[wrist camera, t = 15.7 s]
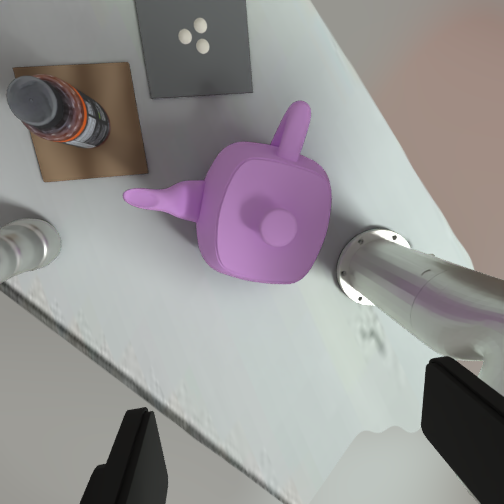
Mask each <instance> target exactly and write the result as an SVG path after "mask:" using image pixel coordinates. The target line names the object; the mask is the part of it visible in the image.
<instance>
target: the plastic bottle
mask: <svg viewBox="0 0 504 504" xmlns="http://www.w3.org/2000/svg"><path fill="white" fill-rule="evenodd" d="M60 250H61V238H60V235H59V233H58V232H57V230H56V229H55V228H54V227H53V226H52V225H51V224H49V223H48V222H46V221H43V220H40V219H28V218H25V219H19V220H16V221H13V222H11V223H8V224H7V225H5V226H3V227H2V228H0V284H1V283H2V282H4V281H6V280H8V279H9V278H11V277H13V276H16V275H19V274H21V273H24V272H28V271H33V270H37V269H40V268H43V267H45V266H47V265H49V264H50V263H51V262H52V261H53V260H54V259H55V258H56V257H57V256H58V255H59V253H60Z"/></svg>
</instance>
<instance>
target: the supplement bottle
mask: <svg viewBox="0 0 504 504" xmlns="http://www.w3.org/2000/svg"><path fill="white" fill-rule="evenodd" d="M7 101H8V105H9V107H10V109H11V111H12V112H13V113H14V115H15V116H16V117H17V118H19V119H20V120H21V121H22V123H23V124H24V125H25V126H26V127H27V128H28V129H29V130H30V131H31V132H32V133H34V134H35V135H37V136H39V137H41V138H43V139H46V140H50V141H53V142H58V143H63V144H67V145H72V146H76V147H78V148H79V147H81V148H96V147H99V146H101V145H102V144H103V143H104V142H105V141H106V140H107V139H108V137H109V135H110V130H111V126H110V120H109V117H108V115H107V113H106V111H105V110H104V108H103V107H102V106H101V105H100V104H99V103H97V102H96V101H95V100H93V99H92V98H90V97H89V96H87V95H85V94H84V93H82V92H81V91H79V90H78V89H76V88H75V87H73V86H71V85H70V84H68V83H67V82H65V81H63V80H61V79H59V78H57V77H54V76H52V75H46V74H38V75H33V76H20V77H18V78H16V79H14V80H13V81H12V82H11V83H10V85H9V87H8V89H7Z"/></svg>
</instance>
